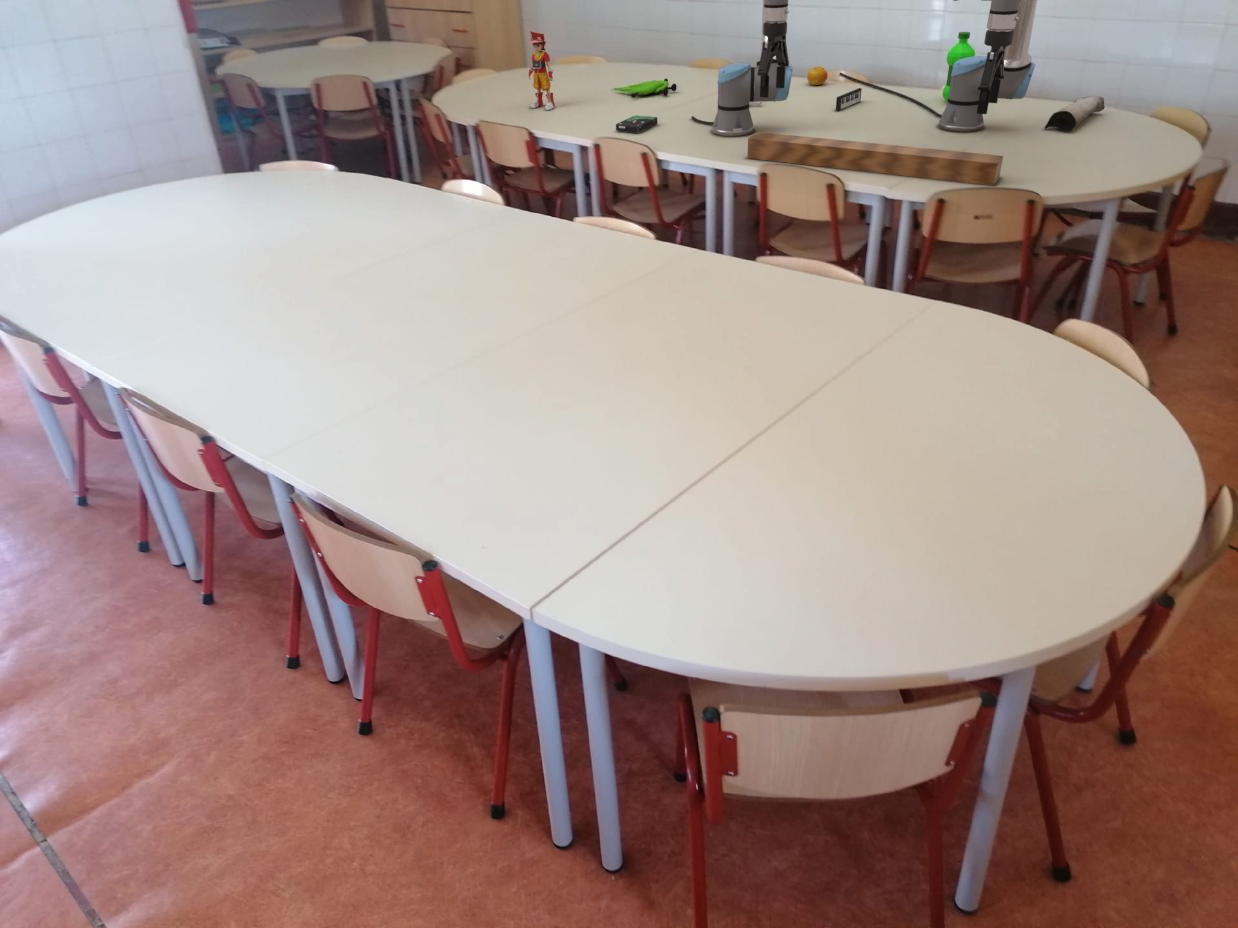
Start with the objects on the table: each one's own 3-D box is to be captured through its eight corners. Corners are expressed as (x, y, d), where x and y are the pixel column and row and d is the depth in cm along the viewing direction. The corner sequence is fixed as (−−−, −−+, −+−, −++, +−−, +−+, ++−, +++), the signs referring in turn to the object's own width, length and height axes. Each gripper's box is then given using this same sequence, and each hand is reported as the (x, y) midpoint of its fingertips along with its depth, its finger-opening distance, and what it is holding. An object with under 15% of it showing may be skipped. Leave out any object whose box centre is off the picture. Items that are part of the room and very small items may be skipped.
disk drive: (638, 134, 340) (658, 124, 350) (638, 126, 338) (657, 116, 349) (615, 131, 345) (635, 121, 355) (615, 124, 343) (635, 114, 353)
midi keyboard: (838, 111, 353) (839, 97, 350) (835, 110, 353) (836, 97, 350) (860, 101, 363) (861, 88, 360) (857, 101, 364) (859, 88, 361)
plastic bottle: (973, 101, 354) (984, 32, 339) (955, 106, 349) (966, 36, 335) (952, 97, 361) (962, 29, 346) (934, 102, 356) (944, 33, 342)
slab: (747, 158, 307) (747, 138, 304) (757, 151, 313) (757, 132, 310) (993, 185, 272) (997, 163, 268) (999, 177, 278) (1003, 155, 274)
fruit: (802, 77, 388) (813, 60, 385) (805, 81, 396) (816, 64, 392) (818, 88, 386) (829, 71, 383) (820, 91, 394) (832, 74, 391)
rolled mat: (1071, 101, 334) (1096, 83, 326) (1085, 121, 335) (1110, 105, 327) (1040, 123, 317) (1065, 105, 309) (1054, 144, 318) (1080, 127, 309)
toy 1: (525, 109, 381) (517, 32, 364) (534, 104, 388) (527, 28, 371) (550, 110, 377) (543, 32, 360) (559, 105, 384) (553, 28, 367)
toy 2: (686, 85, 398) (631, 84, 414) (685, 72, 395) (629, 72, 411) (651, 104, 381) (596, 103, 397) (650, 92, 378) (594, 91, 394)
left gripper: (771, 29, 273) (768, 102, 285) (801, 15, 290) (797, 84, 302) (748, 28, 276) (746, 100, 288) (779, 14, 294) (776, 83, 306)
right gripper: (1005, 38, 243) (990, 119, 255) (1023, 22, 260) (1008, 99, 272) (976, 37, 246) (963, 117, 258) (996, 21, 263) (983, 97, 276)
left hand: (772, 92), depth 295 cm, fingers open, 13 cm apart
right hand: (986, 108), depth 265 cm, fingers open, 13 cm apart
